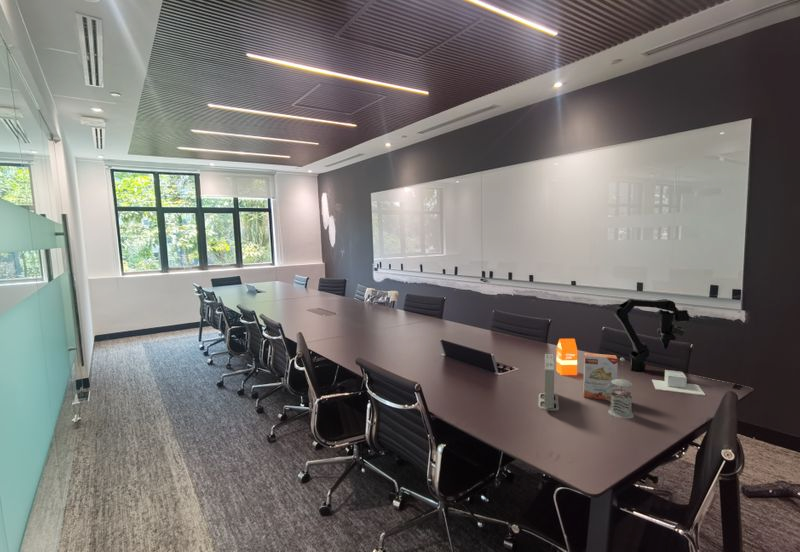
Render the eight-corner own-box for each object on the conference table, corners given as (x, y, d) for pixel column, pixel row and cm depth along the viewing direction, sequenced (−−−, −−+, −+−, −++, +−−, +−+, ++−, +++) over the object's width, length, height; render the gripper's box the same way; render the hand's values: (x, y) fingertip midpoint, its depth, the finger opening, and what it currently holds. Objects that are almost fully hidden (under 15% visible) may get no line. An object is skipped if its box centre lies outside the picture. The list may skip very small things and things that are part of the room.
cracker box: (583, 397, 188) (584, 355, 186) (583, 393, 194) (583, 352, 192) (616, 401, 183) (617, 358, 181) (614, 396, 188) (616, 354, 187)
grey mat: (656, 389, 196) (656, 388, 196) (651, 380, 209) (651, 379, 209) (705, 395, 187) (705, 394, 187) (697, 385, 200) (697, 384, 200)
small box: (664, 379, 208) (667, 386, 199) (664, 369, 208) (667, 375, 198) (682, 382, 205) (686, 388, 195) (682, 371, 204) (687, 377, 195)
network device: (559, 414, 171) (559, 370, 169) (538, 411, 174) (538, 368, 172) (557, 393, 195) (557, 353, 193) (538, 391, 198) (539, 352, 196)
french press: (633, 420, 164) (635, 362, 162) (602, 414, 170) (603, 358, 168) (634, 411, 172) (635, 356, 170) (604, 406, 178) (605, 352, 176)
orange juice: (577, 375, 220) (577, 340, 218) (561, 375, 220) (561, 340, 218) (571, 370, 228) (571, 336, 226) (556, 370, 228) (556, 337, 226)
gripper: (687, 326, 209) (686, 354, 211) (680, 319, 226) (679, 346, 227) (663, 324, 214) (662, 352, 215) (657, 318, 231) (656, 344, 232)
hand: (665, 348), depth 222 cm, fingers closed
